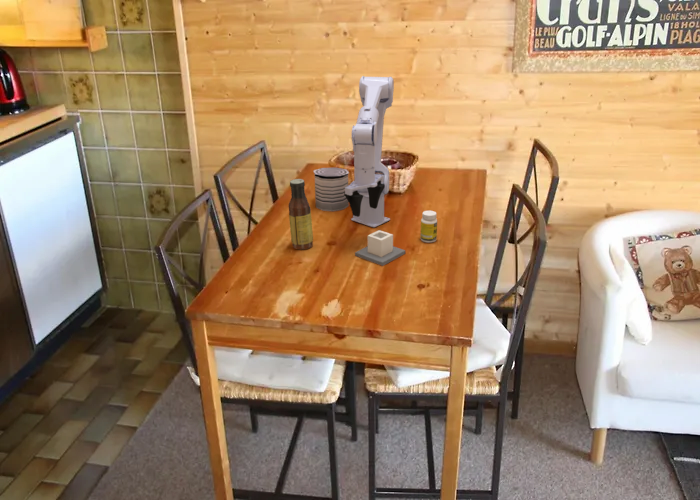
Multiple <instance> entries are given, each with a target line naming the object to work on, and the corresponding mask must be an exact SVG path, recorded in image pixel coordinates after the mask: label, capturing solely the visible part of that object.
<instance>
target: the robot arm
mask: <svg viewBox="0 0 700 500" xmlns="http://www.w3.org/2000/svg"><path fill="white" fill-rule="evenodd" d="M394 83H395V81H394V78H393V77H392V76H365V75H362V76H361V77H360V78H359V85H358V88H359V89H358V92H359V97H360V101H361V104H362V107H361V108H360V109H359V110H358V111H359V112H358V113H357V114H358V115H357V119H356V123H355V125H352V128H351V143H352V151H353V157H354V159H353V165H354V168H353V171H354V172H353V173H354V176H353V177H354V180H353V181H352V182H350V183H349V184H348V186H347V187H345V192H344V195H345V197H346V198H347V200H348V202H349V207H350V210H351V213H352V218H350V219H351V221H353V222H355V223H359V224H362V225H366V226H368V227H371V228H376V227H378V226H380V225H382V224H385V223H387V222H388V221H390V220H391V218H390V217H386V216H385V195H387V194H388V193H389V190H390V171H389V168H388V167H387V166H386V165H384V163H382V155H383V154H382V152H383V140H384V139H383V136H384V135H383V134H384V122H385V121H384V119H385V115H386V111H387V109H389V108H390V107H392V106H393V102H394V90H395V89H394V88H395V87H394Z"/></svg>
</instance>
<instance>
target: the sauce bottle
mask: <svg viewBox="0 0 700 500" xmlns="http://www.w3.org/2000/svg"><path fill="white" fill-rule="evenodd" d="M305 185H306V184H305V180H304V179H303V178H293V179H292V180H290V181H289V187H290V191H291V192H290V193H291V197H290V200H289V202H288V217H289V218H288V219H289V228H290V229H289V230H290V241H291V244H292V245H291V246H292V247H293V248H294V249H296V250H301V251H302V250H303V251H304V250H308V249H310V248H312V247H313V245H314V243H313V241H314V233H313V223H312V212H311V210H312V209H311V206H310V203H309V202H308V199H307V196H306V193H305Z"/></svg>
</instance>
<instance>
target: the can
mask: <svg viewBox="0 0 700 500" xmlns="http://www.w3.org/2000/svg"><path fill="white" fill-rule="evenodd" d="M313 173H314V194H315V195H314V197H315V208H316V209H319V210H321V211H325V212H338V211H343V210H345V209H346V208H348V207H350V204H349V202H348V200H347V198H346V197H345V195H344V192H345V187H347V186H349V174H350V172H349V170H348V169H345V168H339V167H321V168H318V169H314V170H313Z"/></svg>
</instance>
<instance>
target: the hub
mask: <svg viewBox="0 0 700 500" xmlns="http://www.w3.org/2000/svg"><path fill="white" fill-rule="evenodd" d="M367 246H368V252H369V253H372V254H375V255H378V256H380V257H382V256H384V255H386V254H388V253H390V252H392V251H393V246H394V234H393V233H389V232H387V231H383V230H381V229H379V230H376V231H374V232H372V233H370V234H368V235H367Z"/></svg>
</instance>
